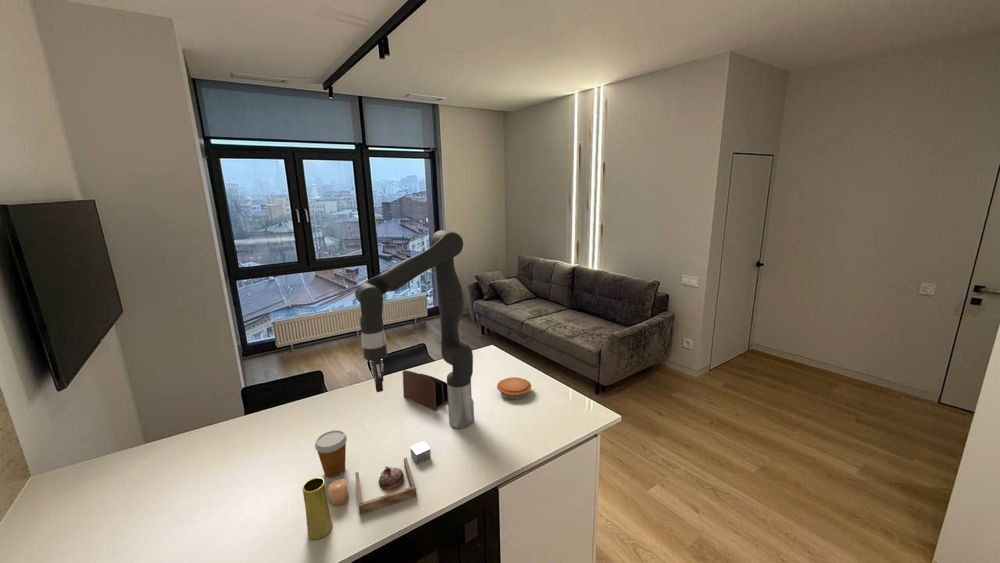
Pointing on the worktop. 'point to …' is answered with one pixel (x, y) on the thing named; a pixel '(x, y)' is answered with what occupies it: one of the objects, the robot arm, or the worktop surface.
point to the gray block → (420, 452)
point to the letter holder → (425, 390)
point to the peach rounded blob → (338, 492)
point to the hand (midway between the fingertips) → (379, 390)
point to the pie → (514, 387)
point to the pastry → (391, 478)
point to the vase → (317, 508)
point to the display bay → (389, 498)
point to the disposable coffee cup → (332, 452)
